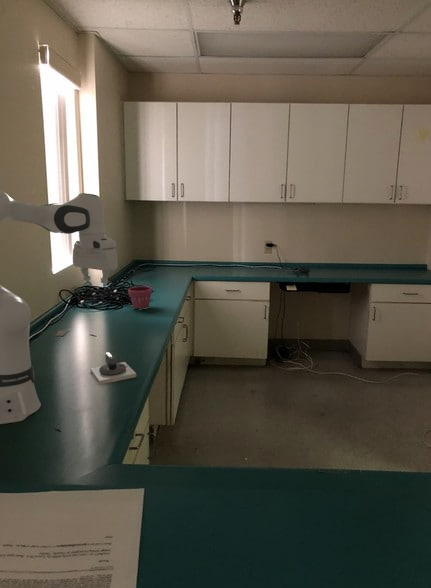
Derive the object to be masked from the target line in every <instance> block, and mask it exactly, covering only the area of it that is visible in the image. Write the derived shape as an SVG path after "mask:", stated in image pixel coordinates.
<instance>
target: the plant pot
mask: <svg viewBox="0 0 431 588" xmlns="http://www.w3.org/2000/svg"><path fill="white" fill-rule="evenodd" d="M152 289H153V288H152V286H145V285H143V286H140V285H139V286H132V287H130V288H128V290H127V291H128V296H129V297H130V302H131V304H132V308H133V307H134V308H139V309H141V308H142V309H143V308H147V307H149V308H150V302H151V296H152V295H153V290H152ZM134 308H133V309H134Z"/></svg>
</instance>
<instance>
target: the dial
mask: <svg viewBox="0 0 431 588" xmlns="http://www.w3.org/2000/svg"><path fill="white" fill-rule="evenodd" d="M105 363H106V364H104V365H101V366H102V367H100V366H99V367H100V369H99V371H100V373H101V374H103V375H117V374H121V373H123V372H125V370H126V366H125V365H124V364H120V363H121V362H117V357H115V356H113V355H112V354H111V353H110V352H109V351H108V352H107V351H106V352H105Z"/></svg>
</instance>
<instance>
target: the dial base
mask: <svg viewBox="0 0 431 588" xmlns="http://www.w3.org/2000/svg"><path fill="white" fill-rule="evenodd" d="M119 363H120V364H124V365H125V366H126V370H125V372H123V373H121V374H117V375H103V374H101V373H100V371H99V369H100V367H102V366H103V365H101V366H96V367H91V368H90V373H91V374H92V375H93V377H94V379H95V380H96V381H97V383H98V384H99V385H104V384H110V383H114V382H118V381H123V380H128V379H134V378H137V373H136V372H135V370H133V368H132V367H131V366H129V364H127V362H126V361H123V362H119Z"/></svg>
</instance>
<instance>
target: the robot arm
mask: <svg viewBox="0 0 431 588" xmlns="http://www.w3.org/2000/svg"><path fill="white" fill-rule="evenodd" d="M105 216H106V215H105V208H104V203H103V200H102V198H101V197H100V196H99V195H96V194H93V193H85V192H82V193H81V192H80V193H78V195H76V196H75V197H73V198H72V199H69V201H66V202H64V203H56V202H53V203H48V204H43V205H38V204H33V203H28V202H23V201H18V200H15V199H14V198H12V197H10V196H9V194H7V193H6V192H5V191H3V190H1V189H0V224H3V223H5V222H10V221H15V222H22V223H27V224H34V225H38V226H40V227H42V228H43V229H45V230H46V231H49V232H51V233H54V234H64V235H65V234H67V235H70V234H71V235H72V234H74V233H78V238H79V240H76V242H75V243H74V244H73V250H72V264H73V266H74V267H75V268H80V271H81V274H82V276H83V280H84V281H90V280H91V275H90V274H89V270H90V269H91V270H97V271H101V272H102V273H101V274H102V277H101V278H100V283H101V284H107V283H109V280H108V278H109V275H110V273H111V272H113V271H117V269H118V265H119V262H118V260H119V259H118V252H117V249H116V248H117V242H116V241H115V240H114V239H112V238H110V237H109V236H107V235H106V228H105V221H106V220H105V219H106V218H105ZM88 269H89V270H88ZM31 311H32V310H31V308H30V306H29V305H28V302H26V301H25V300H24V299H23V298H22V297H20V296H18V295H17V294H16V293H14V292H12V291H10V290H9V289H7V288H6V287H4V286H3V285H1V284H0V425H4V424H9V423H17V422H22V421H24V420H25V419H27V417H29V416H30V415H32V414H33V413H36V412H37V411H38V410H40V408H41V405H42V403H41V402H40V399H39V397H38V394H37V390H36V387H35V372H34V371H35V370H34V367H33V366H34V365H32V362H31V360H32V359H31V352H30V332H31V331H30V330H31V328H30V327H31V321H32V313H31Z"/></svg>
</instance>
